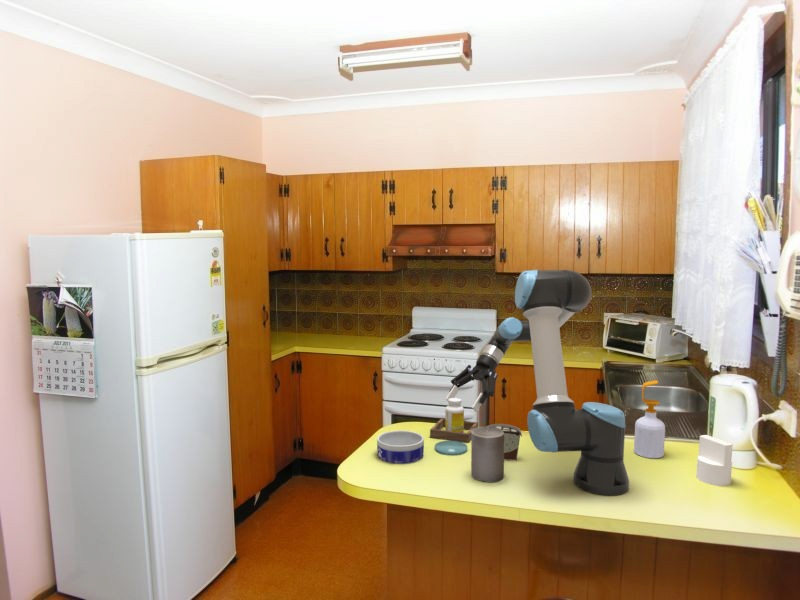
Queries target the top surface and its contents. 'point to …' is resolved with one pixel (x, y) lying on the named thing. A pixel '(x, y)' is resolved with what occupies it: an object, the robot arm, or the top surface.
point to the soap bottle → (649, 430)
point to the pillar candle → (487, 454)
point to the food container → (510, 440)
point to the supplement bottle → (454, 416)
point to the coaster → (450, 447)
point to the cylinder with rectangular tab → (714, 461)
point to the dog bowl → (400, 447)
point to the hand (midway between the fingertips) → (460, 405)
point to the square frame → (452, 436)
